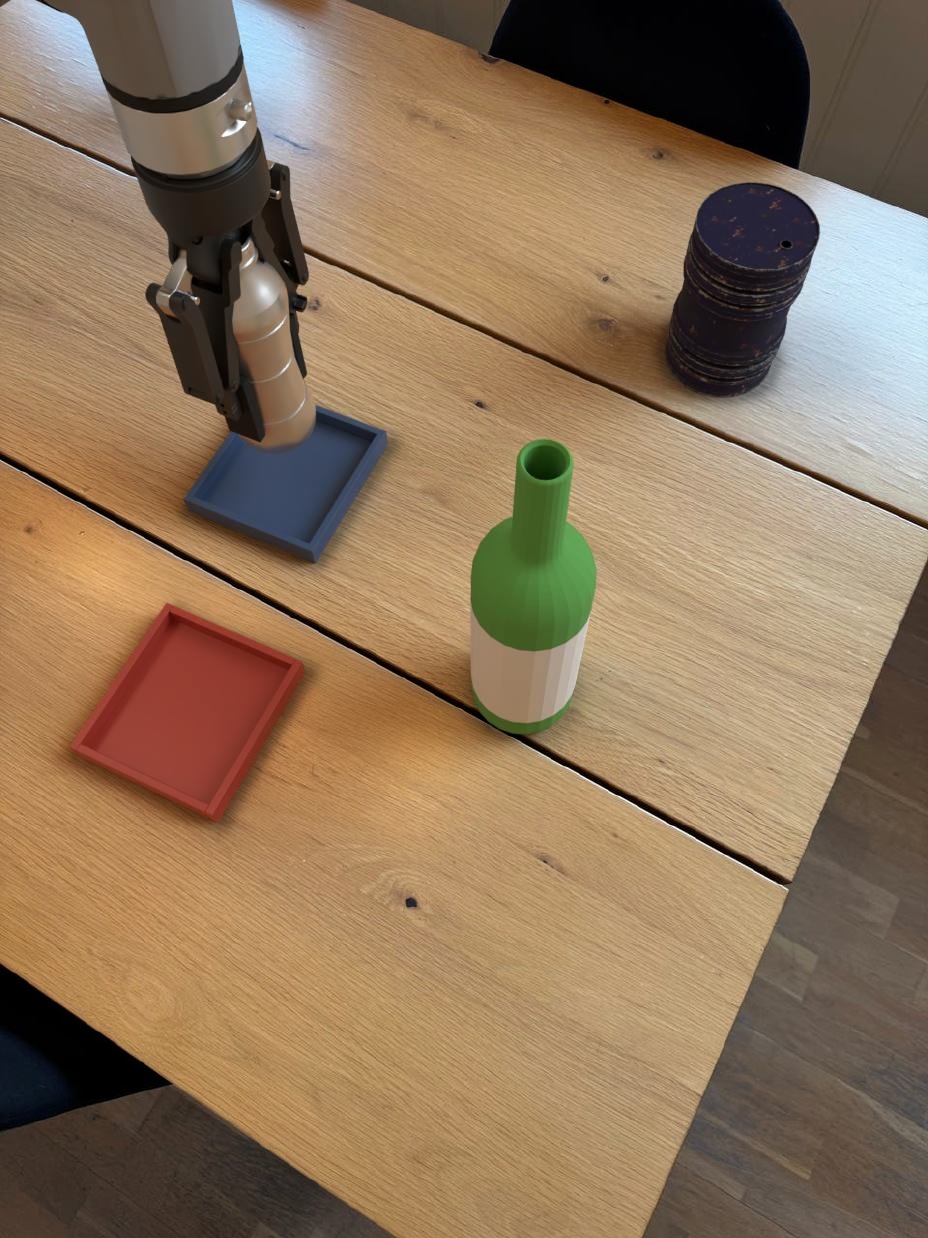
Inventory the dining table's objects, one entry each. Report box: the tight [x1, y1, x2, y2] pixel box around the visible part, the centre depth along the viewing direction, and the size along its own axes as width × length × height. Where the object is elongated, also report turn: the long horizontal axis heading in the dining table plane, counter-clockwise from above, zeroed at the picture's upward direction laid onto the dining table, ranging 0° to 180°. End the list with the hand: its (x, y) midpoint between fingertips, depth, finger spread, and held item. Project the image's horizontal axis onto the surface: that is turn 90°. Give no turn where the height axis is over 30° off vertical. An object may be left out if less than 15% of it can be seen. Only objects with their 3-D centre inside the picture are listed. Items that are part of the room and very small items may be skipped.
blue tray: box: [183, 404, 389, 564], centre depth 86 cm, size 12×13×2 cm
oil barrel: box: [664, 181, 821, 398], centre depth 86 cm, size 10×10×15 cm
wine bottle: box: [469, 438, 598, 735], centre depth 65 cm, size 8×8×30 cm
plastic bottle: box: [232, 234, 316, 454], centre depth 73 cm, size 6×7×20 cm
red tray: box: [69, 602, 307, 823], centre depth 77 cm, size 12×13×2 cm
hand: (268, 401), depth 78 cm, fingers closed on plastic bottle, 6 cm apart
